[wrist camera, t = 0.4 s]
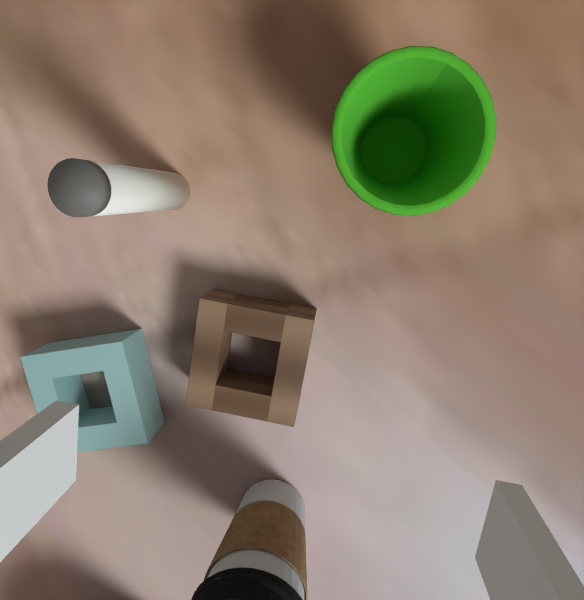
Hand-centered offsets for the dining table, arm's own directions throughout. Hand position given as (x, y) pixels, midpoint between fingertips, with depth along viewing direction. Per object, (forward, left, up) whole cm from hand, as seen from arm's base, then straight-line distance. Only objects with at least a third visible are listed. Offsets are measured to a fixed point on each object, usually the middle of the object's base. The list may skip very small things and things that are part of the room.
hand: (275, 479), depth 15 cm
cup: (-13, +4, -27) cm, 30 cm away
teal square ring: (+11, -17, -26) cm, 33 cm away
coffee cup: (+20, 0, -27) cm, 33 cm away
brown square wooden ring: (+5, -4, -26) cm, 27 cm away
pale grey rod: (-7, -13, -26) cm, 30 cm away
